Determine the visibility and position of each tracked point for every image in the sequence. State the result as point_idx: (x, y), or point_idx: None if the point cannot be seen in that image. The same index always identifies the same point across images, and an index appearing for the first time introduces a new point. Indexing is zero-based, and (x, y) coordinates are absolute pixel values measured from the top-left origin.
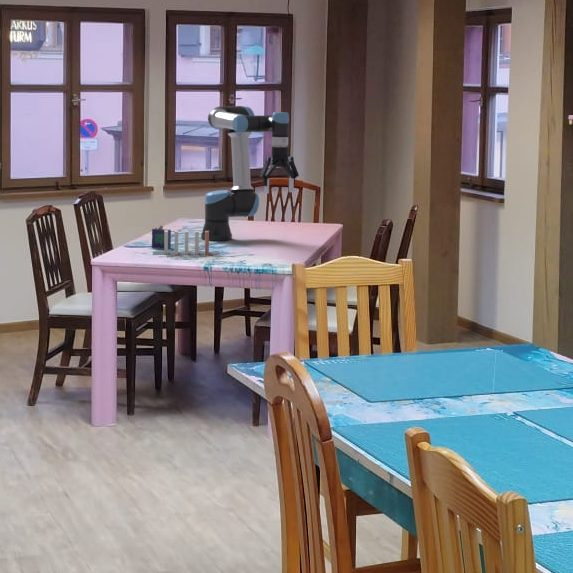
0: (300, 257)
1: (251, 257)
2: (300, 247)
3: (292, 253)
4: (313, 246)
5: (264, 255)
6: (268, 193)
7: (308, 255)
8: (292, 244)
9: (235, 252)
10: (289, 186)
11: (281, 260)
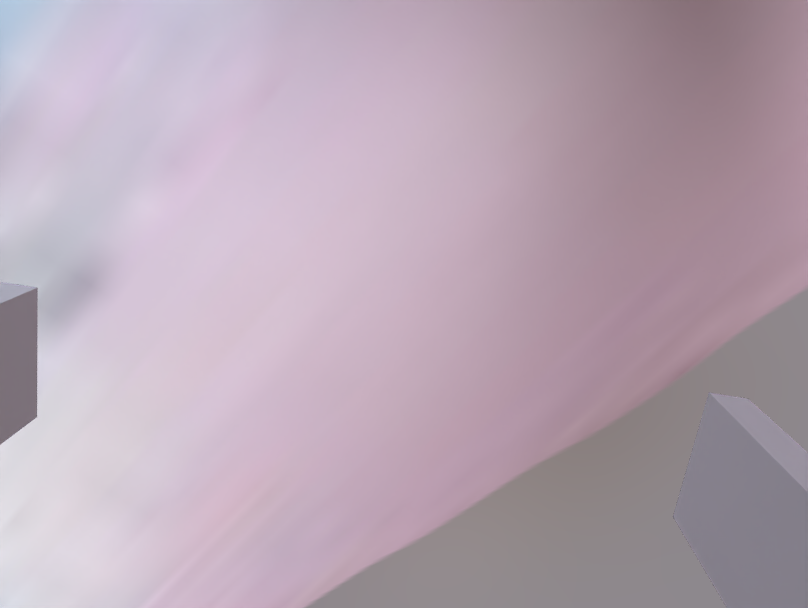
0: (303, 561)
1: None
2: (668, 220)
3: (381, 411)
4: (803, 240)
5: (141, 366)
6: (27, 414)
7: (411, 533)
8: (758, 40)
9: (29, 128)
10: (764, 485)
11: (113, 576)
